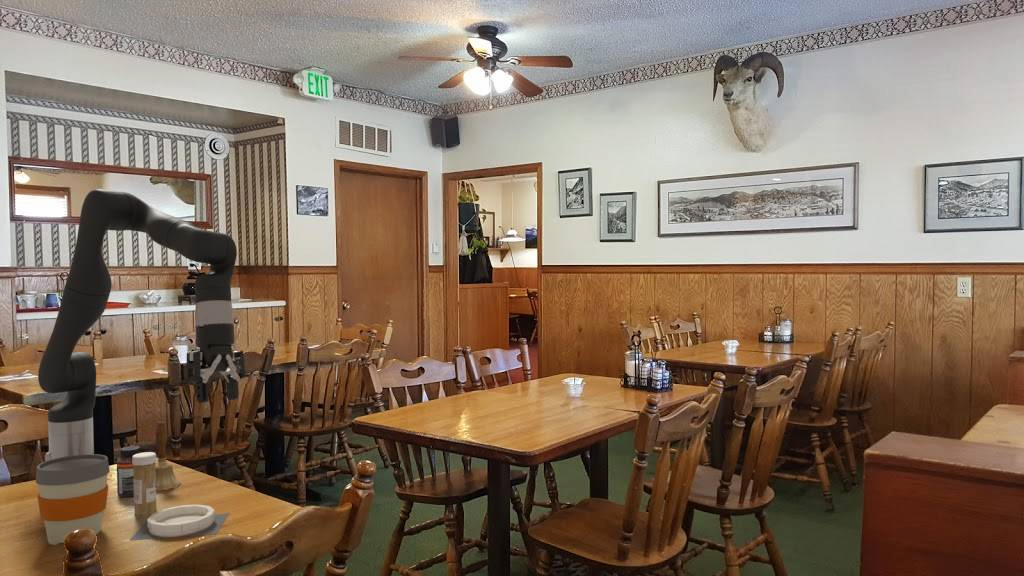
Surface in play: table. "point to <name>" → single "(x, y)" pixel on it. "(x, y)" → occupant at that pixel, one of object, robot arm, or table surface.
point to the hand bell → (163, 462)
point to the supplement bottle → (126, 472)
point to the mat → (213, 529)
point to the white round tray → (180, 520)
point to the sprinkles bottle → (144, 484)
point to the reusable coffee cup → (72, 494)
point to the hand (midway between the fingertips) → (218, 401)
